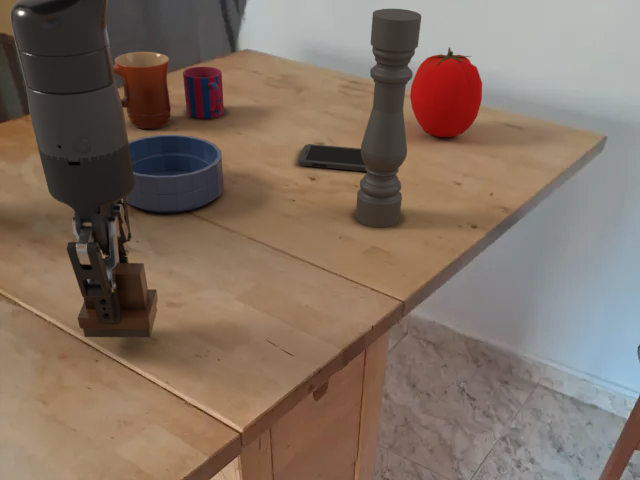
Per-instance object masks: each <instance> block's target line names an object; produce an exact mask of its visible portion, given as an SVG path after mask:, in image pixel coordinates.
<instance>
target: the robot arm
mask: <svg viewBox="0 0 640 480" xmlns="http://www.w3.org/2000/svg"><path fill="white" fill-rule="evenodd" d="M108 1H109V0H16V1H15V2H14V3H13V4H12V6H11V8H10V11H9V20H10V26H11V31H12V36H13V39H14V44H15V47H16V52H17V56H18V58H19V59H18V60H19V63H20V67H21V71H22V75H23V79H24V83H25V89H26V94H27V104H28V110H29V112H28V113H29V118H30V121H31V127H32V130H33V134H34V138H35V142H36V146H37V150H38V155H39V158H40V162H41V166H42V170H43V174H44V178H45V182H46V186H47V190H48V192H49V194H50V196H51V198H53V199H55V200H56V201H57V202H59V203H62V204H65V205H67V206H68V207H70V208H71V209H72V210H73V215H72V218H71V227H72V233H73V234H72V235H74V236H75V238H76V241H68V242H67V244H66V245H67V246H66V251H67V255H68V257H69V260H70V263H71V266H72V270H73V273H74V276H75V278H76V282H77V285H78V287H79V291H80V295H81V297H82V298H83V297H93V300H94V305H95V309H96V313H97V318H98V321H99V322H100V323H101V324H119V323H120V322H121V319H122V314H121V309H120V304H119V299H118V294H117V285H116V280H115V267H116V266H118V265H119V263H130V262H129V258H128V257H129V254H130V251H131V250H130V247H129V244H128V243H130V242H131V240H132V233H131V225H130V219H129V217H130V216H129V209H128V203H127V200H126V196H128V195H129V194H130V193H131V192H132V190H133V188H134V185H135V180H134V174H133V167H132V161H131V155H130V149H129V137H128V129H127V125H126V118H125V112H124V107H122V102H121V99H122V98H121V96H120V93H119V89H118V85H117V81H116V76H115V74H116V73H114V68H113V66H114V61H113V55H112V50H111V43H110V38H109V33H108V21H107V20H108ZM103 256H104V257H103ZM106 271H107V272H106ZM95 279H96V280H95Z"/></svg>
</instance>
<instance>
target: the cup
mask: <svg viewBox="0 0 640 480" xmlns="http://www.w3.org/2000/svg"><path fill="white" fill-rule="evenodd" d="M182 78H183V88H184V97H185V98H184V99H185V109H186V114H187V115H188V116H190V117H192V118H193V119H199V120H201V119H202V120H209V119H211V120H212V119H215V118H219V117H221V116H223V115H224V113H225V106H224V91H223V90H224V88H223V74H222V70H220V69H219V68H216V67H211V66H193V67H189V68H186V69H185V70H183V71H182Z"/></svg>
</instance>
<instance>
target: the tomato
mask: <svg viewBox="0 0 640 480" xmlns="http://www.w3.org/2000/svg"><path fill="white" fill-rule="evenodd" d="M468 57H471V55H462V54H454V51H452V50H451V47H448V50H447V54H442V53H441V54H435V55H431V56H429V57H426V58H425V59H424V60H423V61H422V62H421V63H420V65H419V66H418V68H417V70H416V72H415V75H414V78H413V80H412V83H411V86H410V94H409V98H410V105H411V109H412V112H413V114H414V118H415V120H416V121H417V122H418V125H419V126H420V127H421V129H422V131H424V132H425V133H426V134H427V135H431V136H432V137H433V136H434V137H440V138H454V137H456V136H459V135H462V134H464V133H465V132H466V131H468V130H469V128H471V126H472V125H473V123H474V122H475V120H476V119H477V117H478V116H479V115H478V114H479V111H480V107H481V103H482V100H483V82H482V79H481V76H480V73H479V70H478V67H477V66H476V65H474V64H473V63H472V62H471V60H470V59H469V58H468Z"/></svg>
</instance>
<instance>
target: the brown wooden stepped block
mask: <svg viewBox="0 0 640 480" xmlns="http://www.w3.org/2000/svg"><path fill="white" fill-rule="evenodd" d="M145 269H146V268H145V264H144V262H129V263H119V265H118V266H116V267H115V280H116V285H117V294H118V299H119V304H120V309H121V314H122V319H121V322H120V323H119V324H101V323H100V322H99V321H98V318H97V313H96V309H95V305H94V300H93V297H83V296H82V298H83V303H82V305H81V308H80V311H79V313H78V315H77V322H78V326H79V329H82V330H83V335H84V338H151V336H152V332H153V328H154V324H155V321H156V317H157V312H158V307H157V304H158V300H159V298H158V292H157V289H155V288H154V289H153V288H151V289H149V288H148V281H147V275H146V270H145ZM106 272H107V271H106ZM95 280H96V279H95Z"/></svg>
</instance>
